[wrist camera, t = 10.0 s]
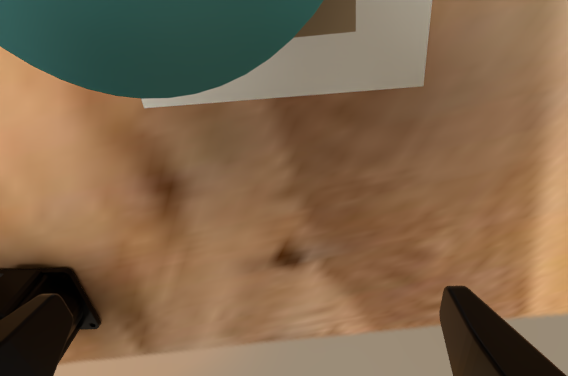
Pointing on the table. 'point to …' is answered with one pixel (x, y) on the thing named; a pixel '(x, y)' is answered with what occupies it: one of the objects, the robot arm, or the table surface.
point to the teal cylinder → (150, 41)
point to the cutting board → (336, 59)
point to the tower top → (331, 19)
